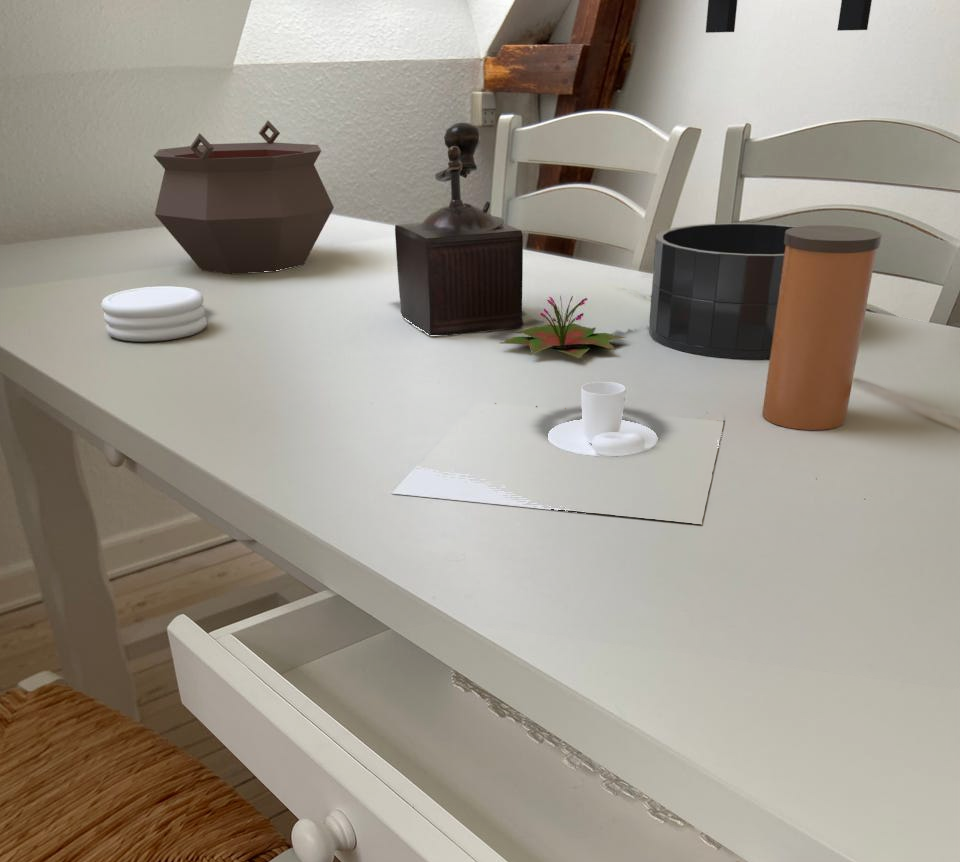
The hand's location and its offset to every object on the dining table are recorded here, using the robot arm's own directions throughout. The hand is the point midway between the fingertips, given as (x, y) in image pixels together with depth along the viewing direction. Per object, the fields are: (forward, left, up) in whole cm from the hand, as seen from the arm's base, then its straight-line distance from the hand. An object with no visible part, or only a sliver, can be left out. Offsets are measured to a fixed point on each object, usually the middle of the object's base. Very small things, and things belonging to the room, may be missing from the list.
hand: (787, 32), depth 82 cm
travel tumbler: (-19, +8, -26) cm, 33 cm away
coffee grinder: (+23, +21, -26) cm, 41 cm away
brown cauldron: (+62, +35, -26) cm, 76 cm away
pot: (+4, -2, -26) cm, 26 cm away
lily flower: (+7, +16, -26) cm, 31 cm away
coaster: (+30, +51, -26) cm, 65 cm away
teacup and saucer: (-19, +28, -26) cm, 42 cm away
